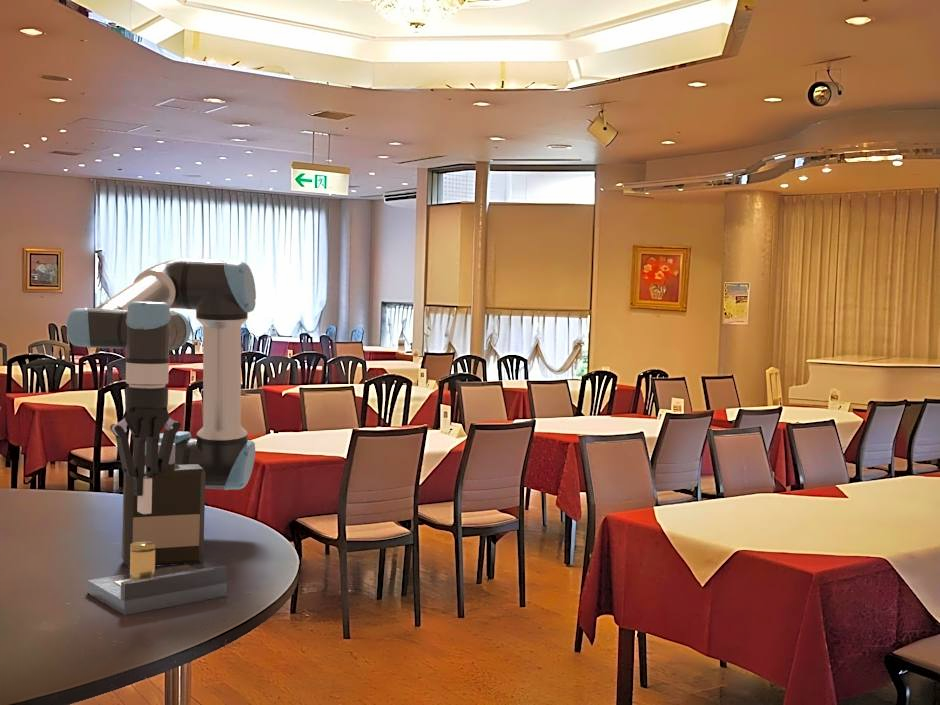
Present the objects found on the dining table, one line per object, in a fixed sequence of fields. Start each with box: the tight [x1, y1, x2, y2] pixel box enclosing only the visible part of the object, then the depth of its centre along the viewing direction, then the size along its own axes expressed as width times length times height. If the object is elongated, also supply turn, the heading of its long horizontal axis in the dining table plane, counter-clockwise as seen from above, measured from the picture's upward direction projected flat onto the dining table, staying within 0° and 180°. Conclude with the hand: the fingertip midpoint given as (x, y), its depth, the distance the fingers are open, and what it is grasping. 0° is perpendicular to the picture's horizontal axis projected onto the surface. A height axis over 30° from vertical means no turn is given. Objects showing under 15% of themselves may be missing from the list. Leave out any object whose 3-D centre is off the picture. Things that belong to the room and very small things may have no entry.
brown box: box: [121, 443, 206, 569], centre depth 213 cm, size 8×16×25 cm, turn 115°
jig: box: [87, 564, 228, 616], centre depth 190 cm, size 20×16×6 cm
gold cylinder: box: [129, 541, 156, 581], centre depth 188 cm, size 4×4×10 cm
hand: (144, 512), depth 188 cm, fingers closed
